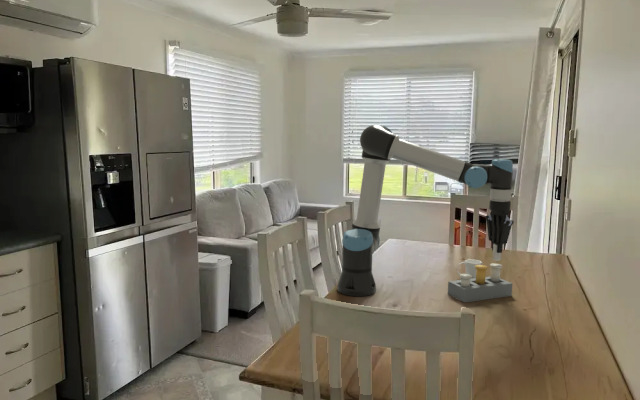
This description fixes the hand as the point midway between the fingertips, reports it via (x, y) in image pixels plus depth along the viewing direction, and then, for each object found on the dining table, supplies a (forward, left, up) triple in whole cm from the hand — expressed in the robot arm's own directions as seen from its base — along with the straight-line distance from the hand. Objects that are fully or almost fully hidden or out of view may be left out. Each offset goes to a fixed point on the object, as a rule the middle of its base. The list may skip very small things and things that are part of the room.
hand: (496, 260), depth 180 cm
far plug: (0, 0, -8) cm, 8 cm away
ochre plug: (-7, 0, -8) cm, 11 cm away
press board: (-7, 0, -13) cm, 15 cm away
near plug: (-14, 0, -11) cm, 18 cm away
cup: (+2, +18, -13) cm, 23 cm away
